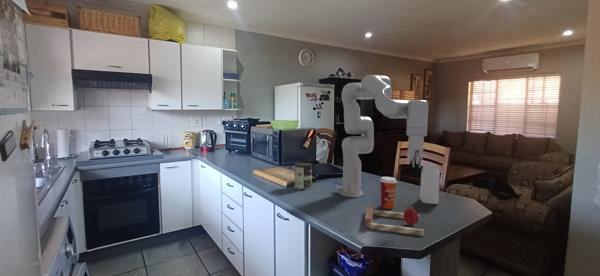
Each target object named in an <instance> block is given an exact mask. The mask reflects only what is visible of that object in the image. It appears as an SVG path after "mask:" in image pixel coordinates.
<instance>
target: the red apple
mask: <svg viewBox="0 0 600 276" xmlns="http://www.w3.org/2000/svg"><path fill="white" fill-rule="evenodd" d="M403 213H404V214H403V218H404V219H403V218H402V219H403V221H404V223H406V224H408V226H409V227H412V226H414V225H415V224H417V223H418V222H419V221H420V218H419V216H418V215H419V214H418V212H417V211H416V210H415V209H414V206H410V207H409V208H407V209H406V210H405V211H404V212H403Z"/></svg>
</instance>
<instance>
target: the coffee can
mask: <svg viewBox="0 0 600 276" xmlns="http://www.w3.org/2000/svg"><path fill="white" fill-rule="evenodd" d="M293 165H294V189H296V188H298V189H297V190H300V189H307V190H310V189H309V188H311V187H313V186H312V184H313V183H312V181H313V180H312V178H313V177H312V173H313V172H312V171H313V169H312V166H313V163H311V162H296V163H294V164H293ZM311 189H312V188H311Z"/></svg>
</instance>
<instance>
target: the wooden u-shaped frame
mask: <svg viewBox="0 0 600 276" xmlns="http://www.w3.org/2000/svg"><path fill="white" fill-rule="evenodd" d="M374 207H375V206H374V205H373V204H368V205H367V206H366V211H365V212H366V213H365V217H364V229H367V228H370V229H369V230H375V229H377V230H376V231H384V232H392V233H399V234H405V235H415V236H424V233H425V231H424V229H423V228H416V227H410V226H409V227H406V226H400V225H392V224H384V223H383V224H382V223H375V222H373V218H374V216H377V217H387V218H395V219H403V220H404V218H403V214H404V212H395V211H387V210H381V209H380V210H379V209H374ZM418 216H419V219H420V218H421V217H420V214H418Z"/></svg>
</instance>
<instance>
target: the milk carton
mask: <svg viewBox="0 0 600 276" xmlns="http://www.w3.org/2000/svg"><path fill="white" fill-rule="evenodd" d="M440 178H441V174H440V169H439V164H425V163H424V164H423V165H422V167H421V177H420V192H419V199H420V201H421V203H422V204H433V205H436V204H437V205H438V204H439V197H440V196H439V195H440V180H441V179H440Z"/></svg>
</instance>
